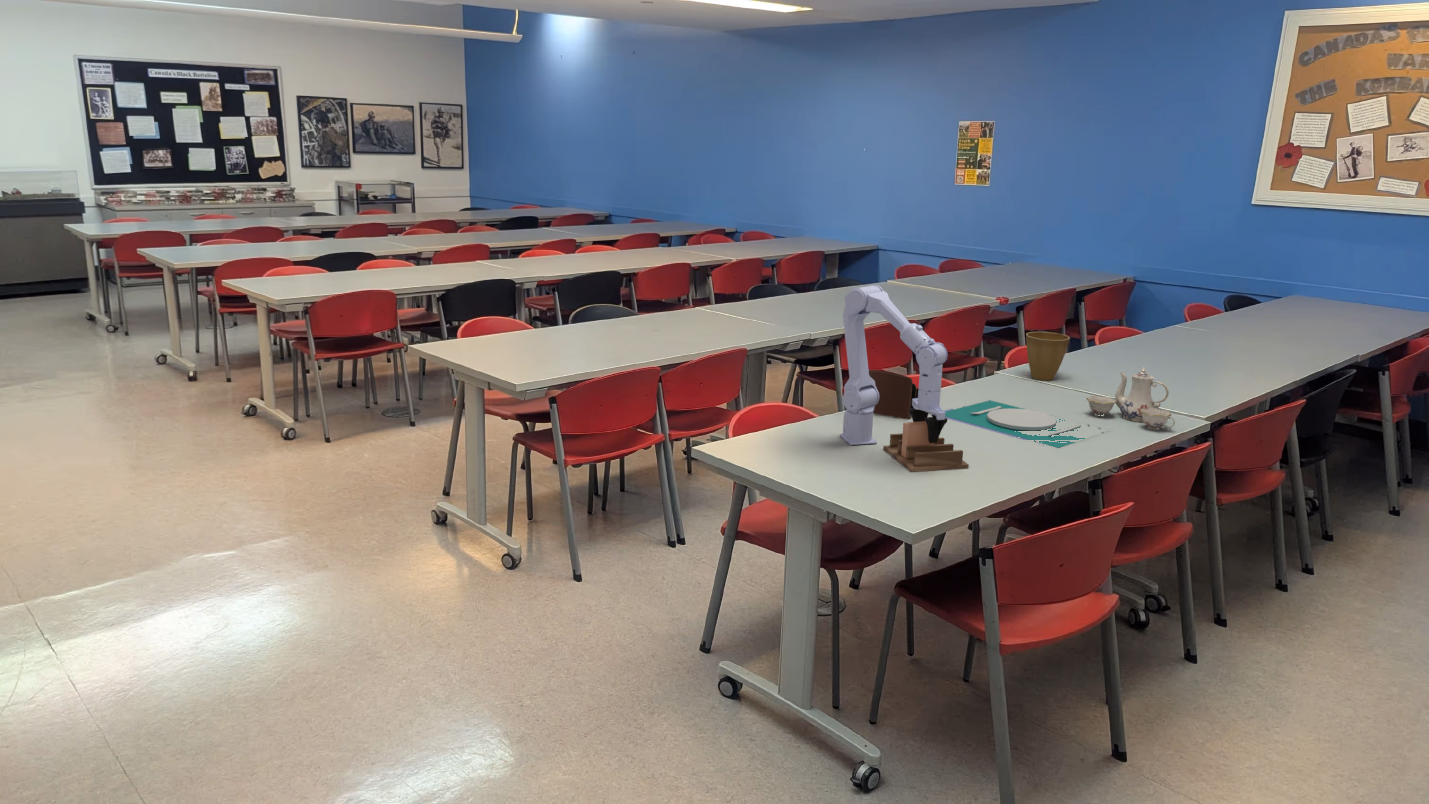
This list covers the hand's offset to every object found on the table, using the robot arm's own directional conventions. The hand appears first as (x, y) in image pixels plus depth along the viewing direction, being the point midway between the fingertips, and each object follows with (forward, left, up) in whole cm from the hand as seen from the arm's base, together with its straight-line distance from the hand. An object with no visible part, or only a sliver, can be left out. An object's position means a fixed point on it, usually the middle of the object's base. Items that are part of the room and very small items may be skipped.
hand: (926, 438), depth 245 cm
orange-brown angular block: (0, -2, -5) cm, 5 cm away
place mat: (-27, +44, -7) cm, 52 cm away
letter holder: (-46, +7, -6) cm, 47 cm away
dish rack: (0, 0, -6) cm, 6 cm away
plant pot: (-77, +81, -6) cm, 112 cm away
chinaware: (-23, +79, -6) cm, 83 cm away
